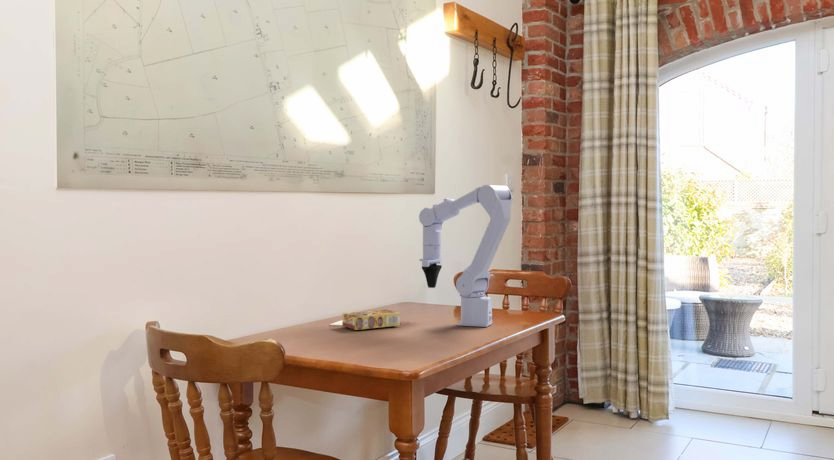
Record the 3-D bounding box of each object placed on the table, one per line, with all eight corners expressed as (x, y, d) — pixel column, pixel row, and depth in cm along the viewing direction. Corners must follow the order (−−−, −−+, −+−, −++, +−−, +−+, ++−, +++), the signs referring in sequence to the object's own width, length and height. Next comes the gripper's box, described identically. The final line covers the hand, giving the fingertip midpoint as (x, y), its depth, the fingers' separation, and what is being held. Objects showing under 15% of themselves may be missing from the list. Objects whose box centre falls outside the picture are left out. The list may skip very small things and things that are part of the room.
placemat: (390, 320, 250) (390, 319, 250) (371, 327, 234) (371, 326, 234) (349, 318, 254) (349, 317, 254) (329, 325, 239) (329, 324, 239)
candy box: (400, 312, 235) (354, 316, 227) (400, 326, 235) (354, 330, 227) (386, 309, 242) (341, 312, 235) (386, 322, 243) (341, 326, 235)
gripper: (426, 244, 258) (426, 284, 258) (412, 246, 244) (412, 289, 244) (447, 244, 256) (447, 285, 256) (434, 246, 242) (434, 290, 242)
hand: (431, 287), depth 250 cm, fingers closed
